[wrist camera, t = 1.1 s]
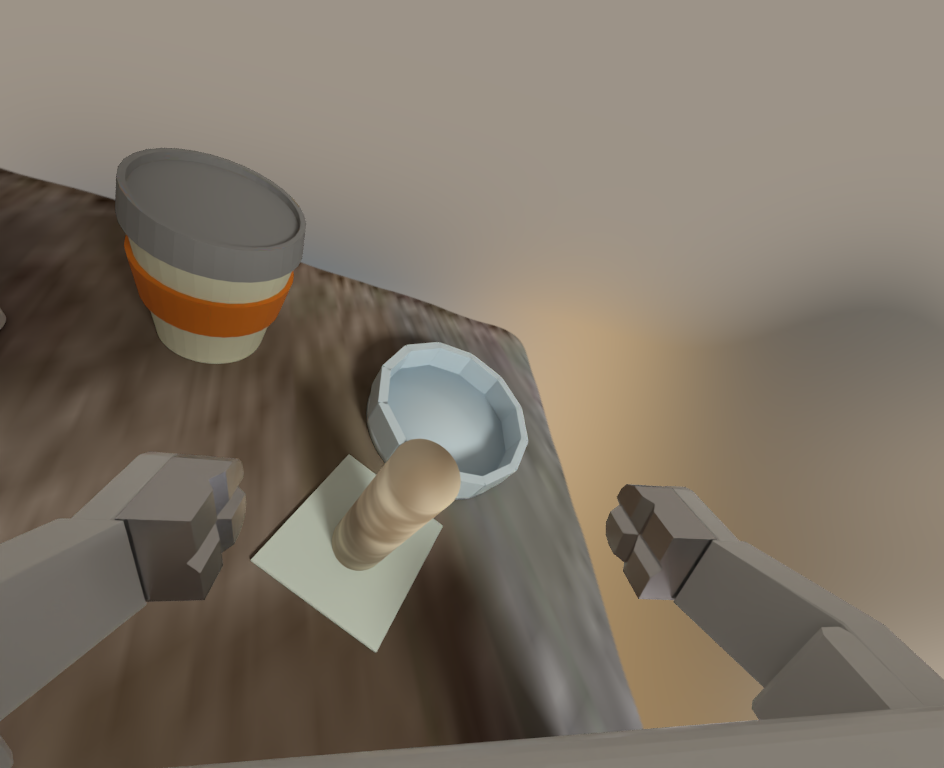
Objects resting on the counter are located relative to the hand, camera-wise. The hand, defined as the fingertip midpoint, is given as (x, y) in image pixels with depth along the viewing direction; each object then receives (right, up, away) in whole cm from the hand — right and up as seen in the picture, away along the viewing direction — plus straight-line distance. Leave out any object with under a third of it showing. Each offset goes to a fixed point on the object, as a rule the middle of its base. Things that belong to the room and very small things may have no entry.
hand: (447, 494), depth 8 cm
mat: (-9, -12, +26) cm, 30 cm away
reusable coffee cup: (-26, +8, +31) cm, 41 cm away
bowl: (-3, -3, +39) cm, 39 cm away
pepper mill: (-9, -12, +25) cm, 29 cm away
